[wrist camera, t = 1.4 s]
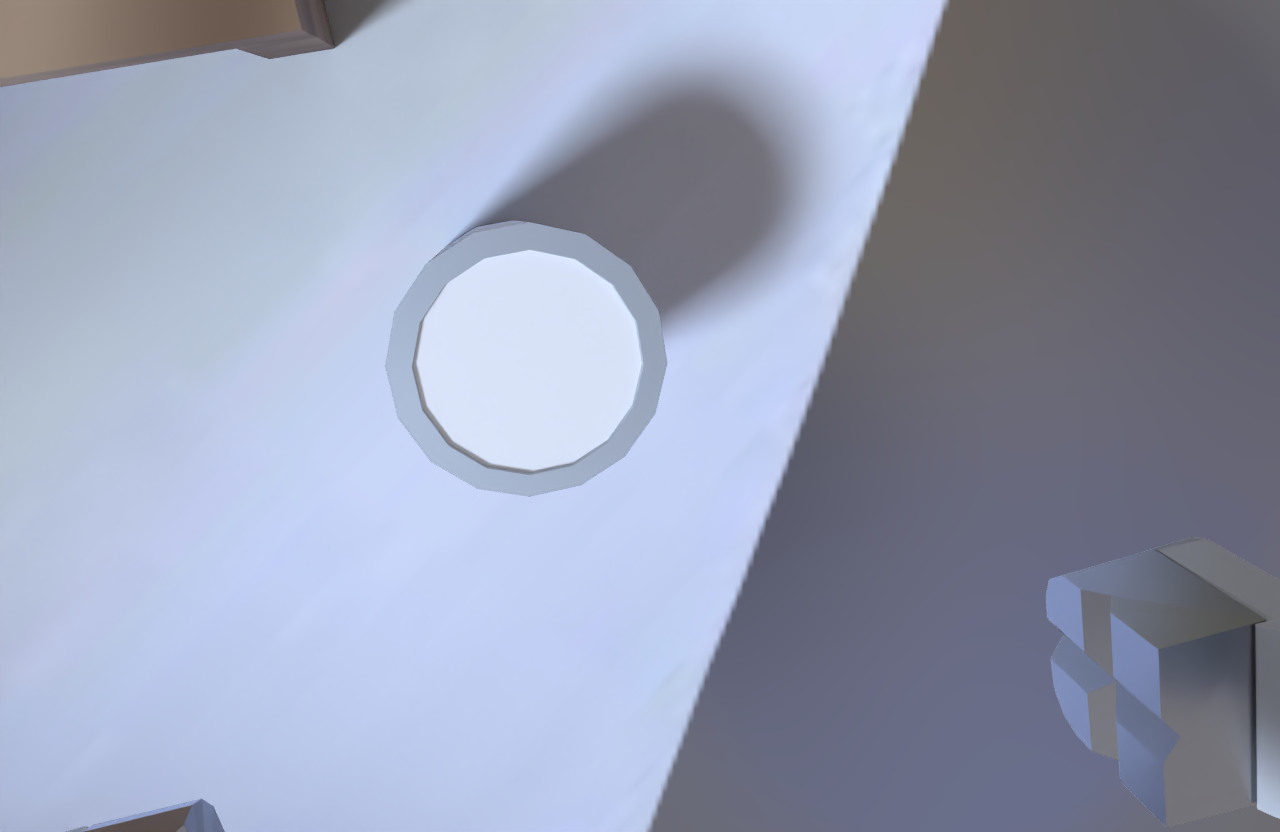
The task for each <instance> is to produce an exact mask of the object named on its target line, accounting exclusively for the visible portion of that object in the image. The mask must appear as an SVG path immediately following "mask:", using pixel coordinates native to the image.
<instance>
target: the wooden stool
mask: <svg viewBox="0 0 1280 832" xmlns="http://www.w3.org/2000/svg"><path fill="white" fill-rule="evenodd" d="M235 48H236V49H239V50H242V51H246V52H249V53H252V54H255V55H258V56H261V57H264V58H268V59H273V58H279V57H285V56H291V55H297V54H303V53H309V52H315V51H321V50H327V49H333V48H335V46H334V42H333V38H332V34H331V30H330V26H329V22H328V18H327V14H326V10H325V5H324V1H323V0H0V87H3V86H9V85H15V84H22V83H28V82H34V81H40V80H46V79H52V78H58V77H64V76H70V75H76V74H83V73H89V72H95V71H101V70H107V69H113V68H119V67H125V66H131V65H138V64H144V63H150V62H156V61H162V60H168V59H174V58H180V57H186V56H193V55H199V54H205V53H211V52H217V51H223V50H229V49H235Z"/></svg>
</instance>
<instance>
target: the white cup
mask: <svg viewBox="0 0 1280 832" xmlns="http://www.w3.org/2000/svg"><path fill="white" fill-rule="evenodd" d="M385 367H386V371H387V375H388V379H389V383H390V387H391V391H392V396H393V400H394V404H395V408H396V412H397V416H398V419H399V420H400V422H401V423H402V424H403V426H404V427H405V428H406V430H407V431H408V432H409V434H410V435H411V436H412V438H413V439H414V440H415V442H416V443H417V444H418V445H419V447H420V448H421V449H422V451H423V452H424V453H425V455H426V456H427V457H428V459H429V460H430V461H431V462H432V463H434V464H436V465H437V466H439V467H441V468H443V469H444V470H446V471H448V472H449V473H451V474H453V475H455V476H456V477H458V478H460V479H461V480H463V481H465V482H467V483H468V484H470V485H472V486H473V487H475V488H477V489H483V490H489V491H496V492H503V493H509V494H516V495H522V496H529V497H530V496H534V495H539V494H544V493H548V492H553V491H557V490H562V489H566V488H571V487H575V486H580V485H582V484H584V483H585V482H587V481H588V480H590V479H591V478H593V477H594V476H596V475H597V474H599V473H600V472H602V471H604V470H605V469H607V468H608V467H610V466H611V465H613V464H614V463H616V462H617V461H619V460H620V459H622V458H623V457H625V456H626V454H627V453H628V451H629V450H630V449H631V447H632V446H633V444H634V443H635V442H636V440H637V439H638V437H639V436H640V435H641V433H642V432H643V430H644V429H645V427H646V426H647V425H648V423H649V422H650V420H651V419H652V418H653V416H654V415H655V413H656V408H657V404H658V400H659V396H660V392H661V387H662V383H663V379H664V375H665V371H666V367H667V358H666V352H665V345H664V339H663V333H662V327H661V320H660V314H659V310H658V309H657V307H656V306H655V304H654V302H653V301H652V299H651V298H650V296H649V294H648V293H647V291H646V290H645V288H644V286H643V285H642V283H641V282H640V280H639V278H638V277H637V275H636V274H635V272H634V270H633V269H632V267H631V266H630V265H629V264H627V263H626V262H624V261H623V260H622V259H620V258H619V257H617V256H616V255H614V254H613V253H612V252H610V251H609V250H607V249H606V248H604V247H603V246H602V245H600V244H599V243H597V242H596V241H594V240H593V239H592V238H590V237H589V236H587V235H586V234H582V233H578V232H573V231H568V230H564V229H559V228H554V227H550V226H545V225H541V224H536V223H531V222H523V221H513V220H511V221H506V222H500V223H495V224H490V225H484V226H479V227H475V228H474V229H472V230H471V231H469V232H468V233H466V234H464V235H463V236H461V237H460V238H458V239H457V240H455V241H454V242H452V243H451V244H449V245H448V246H446V247H445V248H444V249H443V250H441V251H440V252H439V253H438V254H437V255H436V256H435V257H433V258H432V259H431V260H430V261H429V262H428V263H427V264H426V265H425V266H424V268H423V269H422V271H421V272H420V274H419V275H418V277H417V278H416V280H415V281H414V283H413V284H412V286H411V287H410V289H409V290H408V292H407V293H406V295H405V297H404V298H403V300H402V301H401V303H400V304H399V306H398V307H397V309H396V310H395V312H394V318H393V324H392V329H391V335H390V341H389V347H388V353H387V359H386V364H385Z"/></svg>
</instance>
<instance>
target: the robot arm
mask: <svg viewBox="0 0 1280 832" xmlns="http://www.w3.org/2000/svg"><path fill="white" fill-rule="evenodd" d="M1046 606H1047V618H1048V620H1050V622H1052V623H1053V624H1054V625H1055V626H1056V627H1057V628H1058V629H1059V630H1060V631H1061V632H1062V633H1063V634H1064V635H1063V637H1062V638H1061V640H1060V642H1059V644H1058V646H1057V648H1056V650H1055V651H1054V653H1053V655H1052V657H1051V666H1052V673H1053V682H1054V689H1055V692H1056V694H1057V697H1058V700H1059V702H1060V705H1061V708H1062V711H1063V713H1064V716H1065V718H1066V719H1067V721H1068V722H1069V724H1070V726H1071V727H1072V729H1073V730H1074V732H1075V733H1076V735H1077V736H1078V737H1079V738H1080V739H1081V740H1082V741H1083V742H1084V743H1085V744H1086V746H1087V747H1088V748H1089V749H1090V750H1091V751H1092V752H1095V753H1098V754H1101V755H1104V756H1107V757H1110V758H1113V759H1115V760H1118V761H1119V769H1120V781H1121V782H1122V783H1123V784H1124V785H1125V786H1126V787H1127V788H1128V789H1129V790H1130V791H1131V792H1132V793H1133V794H1134V795H1135V796H1136V797H1137V798H1138V799H1139V800H1140V801H1141V802H1142V803H1143V804H1144V805H1145V806H1146V807H1147V808H1148V809H1149V810H1150V811H1151V812H1152V813H1153V814H1154V815H1155V816H1156V817H1157V818H1158V819H1159V820H1160V822H1161V823H1162V824H1163V825H1164V826H1165V827H1170V826H1174V825H1178V824H1182V823H1185V822H1190V821H1194V820H1198V819H1201V818H1205V817H1209V816H1213V815H1217V814H1221V813H1225V812H1229V811H1233V810H1237V809H1241V808H1245V807H1248V806H1252V805H1256V804H1257V809H1259V810H1261V811H1263V812H1265V813H1268V814H1270V815H1272V816H1274V817H1277V818H1279V819H1280V580H1278V579H1276V578H1275V577H1273V576H1271V575H1269V574H1268V573H1266V572H1264V571H1262V570H1261V569H1259V568H1257V567H1255V566H1253V565H1252V564H1250V563H1248V562H1247V561H1245V560H1243V559H1241V558H1240V557H1238V556H1236V555H1234V554H1233V553H1231V552H1229V551H1227V550H1226V549H1224V548H1222V547H1220V546H1219V545H1217V544H1215V543H1213V542H1212V541H1210V540H1208V539H1205V538H1195V537H1190V538H1187V539H1184V540H1180V541H1177V542H1174V543H1170V544H1167V545H1164V546H1161V547H1158V548H1154V549H1151V550H1148V551H1145V552H1142V553H1138V554H1135V555H1132V556H1128V557H1125V558H1121V559H1118V560H1114V561H1111V562H1107V563H1104V564H1100V565H1097V566H1093V567H1090V568H1086V569H1083V570H1079V571H1076V572H1073V573H1069V574H1066V575H1062V576H1059V577H1056V578H1052V579H1049V583H1048V588H1047V592H1046ZM66 832H225V831H224V829H223V827H222V825H221V822H220V820H219V818H218V816H217V813H216V811H215V809H214V806H212V805H211V804H209V803H207V802H206V801H204V800H203V799H199V800H195V801H190V802H186V803H182V804H178V805H174V806H170V807H165V808H161V809H157V810H153V811H149V812H145V813H141V814H136V815H132V816H128V817H124V818H120V819H116V820H111V821H107V822H103V823H99V824H95V825H92V826H91V827H85V826H84V827H80V828H77V829H73V830H70V831H66Z"/></svg>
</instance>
